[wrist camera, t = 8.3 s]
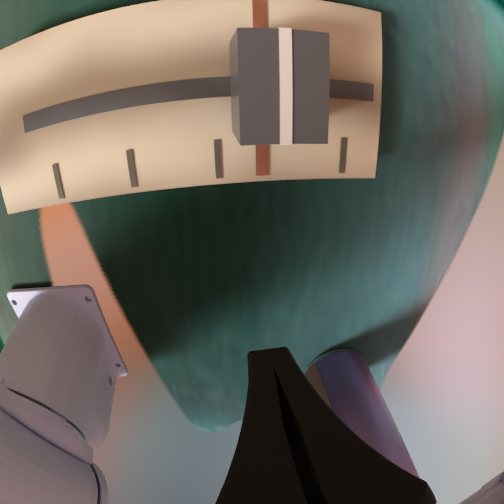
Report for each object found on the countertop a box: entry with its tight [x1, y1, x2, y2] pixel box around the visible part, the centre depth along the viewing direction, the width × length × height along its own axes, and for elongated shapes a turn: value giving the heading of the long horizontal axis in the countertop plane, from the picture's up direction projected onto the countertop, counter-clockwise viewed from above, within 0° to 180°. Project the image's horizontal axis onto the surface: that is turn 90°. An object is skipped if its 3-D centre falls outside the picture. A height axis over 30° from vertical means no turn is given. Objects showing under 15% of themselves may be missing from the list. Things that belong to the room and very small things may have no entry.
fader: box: [229, 27, 330, 146], centre depth 10 cm, size 4×3×4 cm
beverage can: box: [305, 349, 419, 478], centre depth 20 cm, size 6×6×15 cm
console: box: [0, 0, 382, 214], centre depth 13 cm, size 9×20×3 cm, turn 91°
